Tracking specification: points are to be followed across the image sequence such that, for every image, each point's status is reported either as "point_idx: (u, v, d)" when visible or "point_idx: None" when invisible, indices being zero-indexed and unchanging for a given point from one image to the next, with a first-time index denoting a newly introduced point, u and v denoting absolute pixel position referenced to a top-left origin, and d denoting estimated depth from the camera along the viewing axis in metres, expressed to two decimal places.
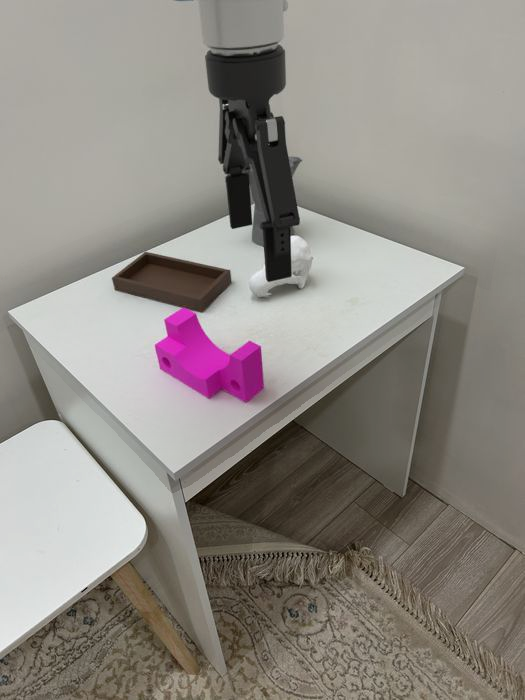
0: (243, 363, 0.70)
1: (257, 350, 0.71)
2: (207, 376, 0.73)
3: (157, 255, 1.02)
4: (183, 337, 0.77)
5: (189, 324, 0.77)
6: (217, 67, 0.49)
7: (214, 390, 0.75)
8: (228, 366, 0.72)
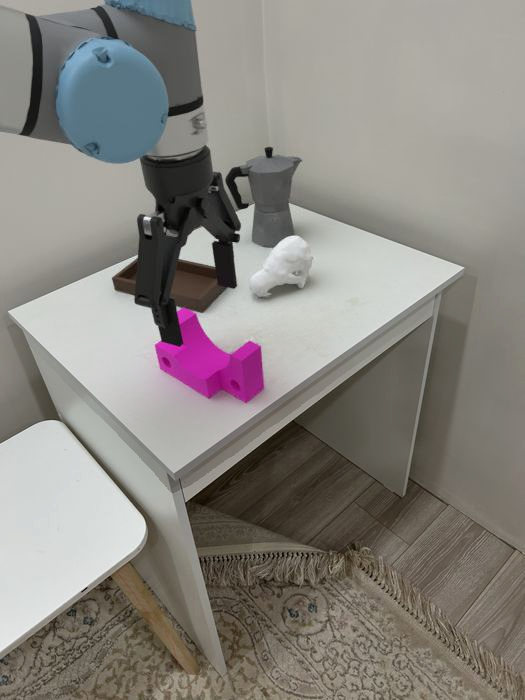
0: (243, 363, 0.70)
1: (257, 350, 0.71)
2: (207, 376, 0.73)
3: None
4: (183, 337, 0.77)
5: (189, 324, 0.77)
6: None
7: (214, 390, 0.75)
8: (228, 366, 0.72)
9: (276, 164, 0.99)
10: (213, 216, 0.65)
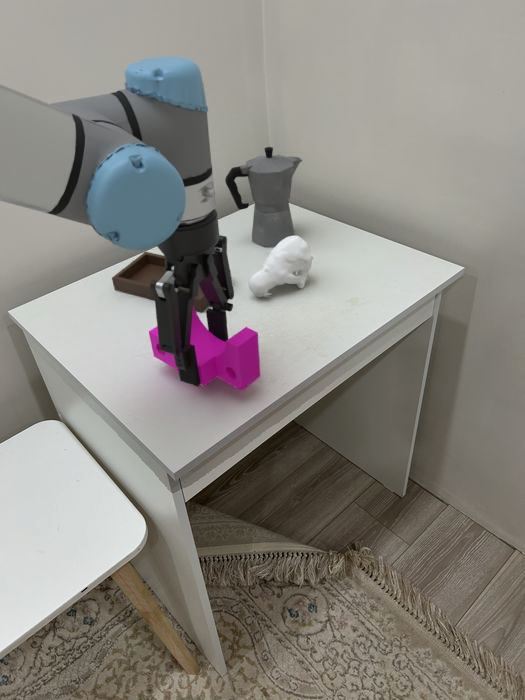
0: (240, 349, 0.68)
1: (253, 337, 0.69)
2: (202, 363, 0.72)
3: (157, 255, 1.02)
4: None
5: None
6: None
7: (209, 378, 0.74)
8: (224, 353, 0.70)
9: (276, 164, 0.99)
10: (214, 276, 0.69)
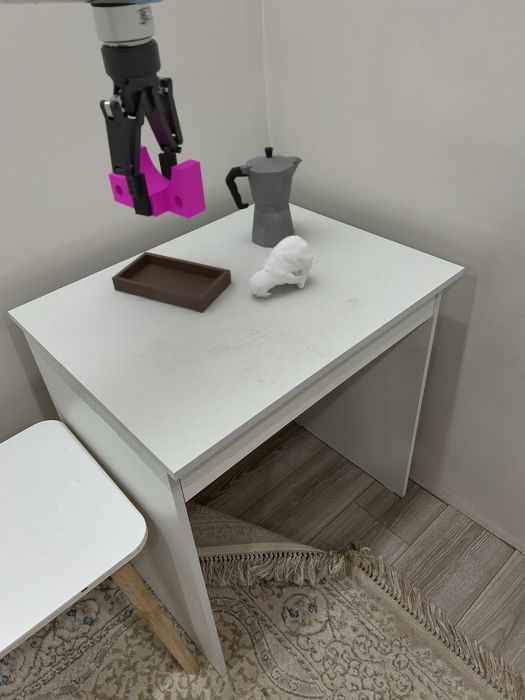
0: (183, 173, 0.78)
1: (196, 165, 0.79)
2: (153, 194, 0.82)
3: (157, 255, 1.02)
4: None
5: None
6: None
7: (160, 210, 0.84)
8: (171, 181, 0.80)
9: (276, 164, 0.99)
10: (160, 111, 0.79)
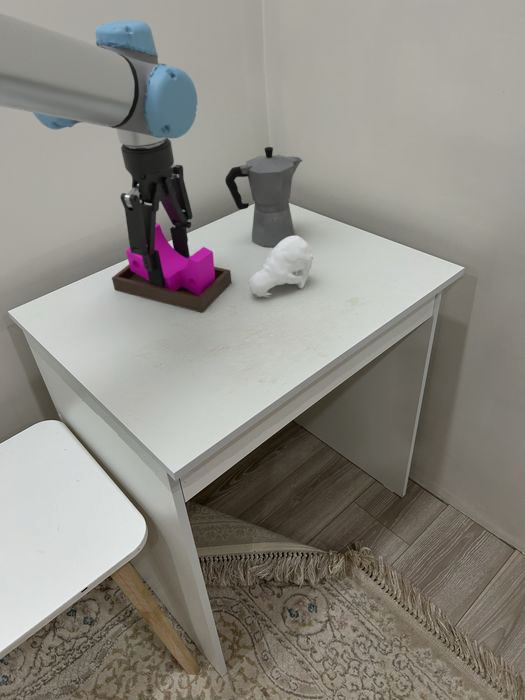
0: (199, 264, 0.89)
1: (209, 254, 0.90)
2: (170, 275, 0.92)
3: None
4: None
5: None
6: None
7: (175, 287, 0.94)
8: (187, 267, 0.91)
9: (276, 164, 0.99)
10: (173, 195, 0.88)
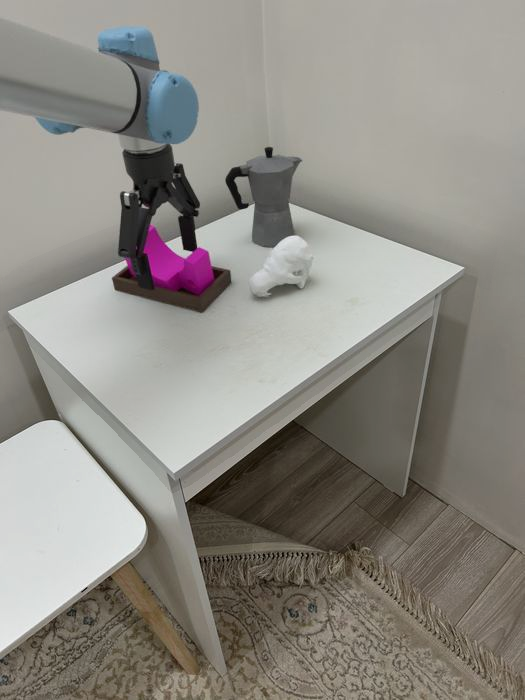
0: (195, 265, 0.88)
1: (205, 255, 0.89)
2: (168, 278, 0.92)
3: None
4: (146, 247, 0.95)
5: (150, 236, 0.95)
6: None
7: (175, 288, 0.95)
8: (184, 269, 0.91)
9: (276, 164, 0.99)
10: (176, 195, 0.89)
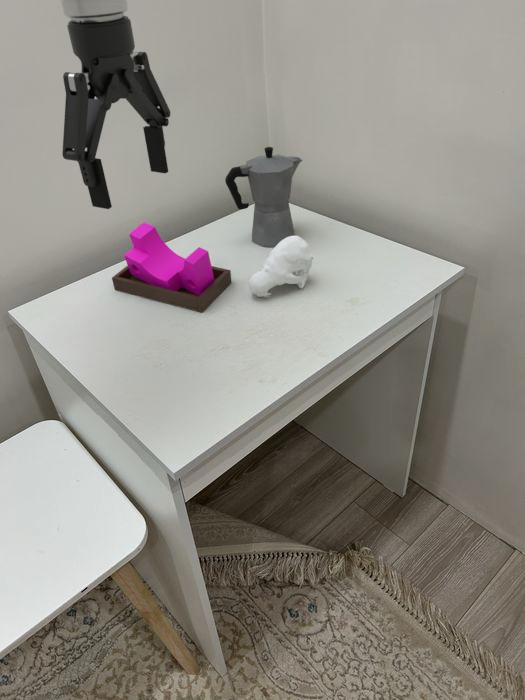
0: (195, 265, 0.88)
1: (205, 255, 0.89)
2: (168, 278, 0.92)
3: None
4: (146, 247, 0.95)
5: (150, 236, 0.95)
6: None
7: (175, 288, 0.95)
8: (184, 269, 0.91)
9: (276, 164, 0.99)
10: (139, 91, 0.72)
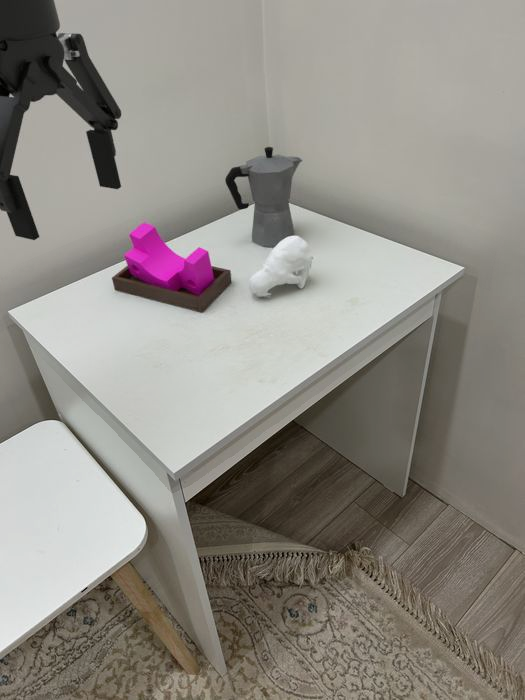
0: (195, 266, 0.88)
1: (205, 255, 0.89)
2: (168, 278, 0.92)
3: None
4: (146, 247, 0.95)
5: (150, 236, 0.95)
6: None
7: (175, 288, 0.95)
8: (184, 269, 0.91)
9: (276, 164, 0.99)
10: (72, 85, 0.55)
